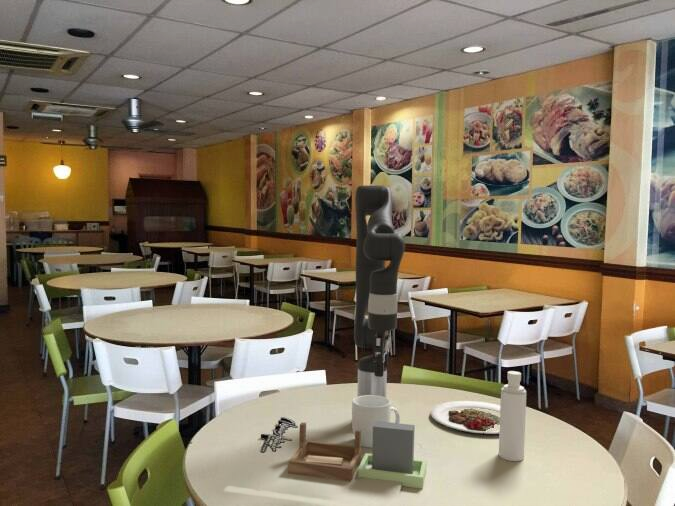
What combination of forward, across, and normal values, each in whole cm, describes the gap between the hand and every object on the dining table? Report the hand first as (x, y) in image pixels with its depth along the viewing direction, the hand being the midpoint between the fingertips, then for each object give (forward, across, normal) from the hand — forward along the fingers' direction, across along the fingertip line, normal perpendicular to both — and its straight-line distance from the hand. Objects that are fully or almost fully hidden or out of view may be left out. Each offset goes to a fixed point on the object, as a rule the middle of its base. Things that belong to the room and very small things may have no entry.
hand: (381, 371), depth 146 cm
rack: (+25, -7, +13) cm, 29 cm away
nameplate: (+26, +10, +32) cm, 42 cm away
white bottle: (+26, +14, -35) cm, 45 cm away
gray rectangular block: (+24, -6, -4) cm, 25 cm away
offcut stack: (+24, -11, +13) cm, 29 cm away
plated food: (+27, +41, -26) cm, 56 cm away
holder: (+25, -6, -4) cm, 26 cm away
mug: (+26, +12, +3) cm, 28 cm away
